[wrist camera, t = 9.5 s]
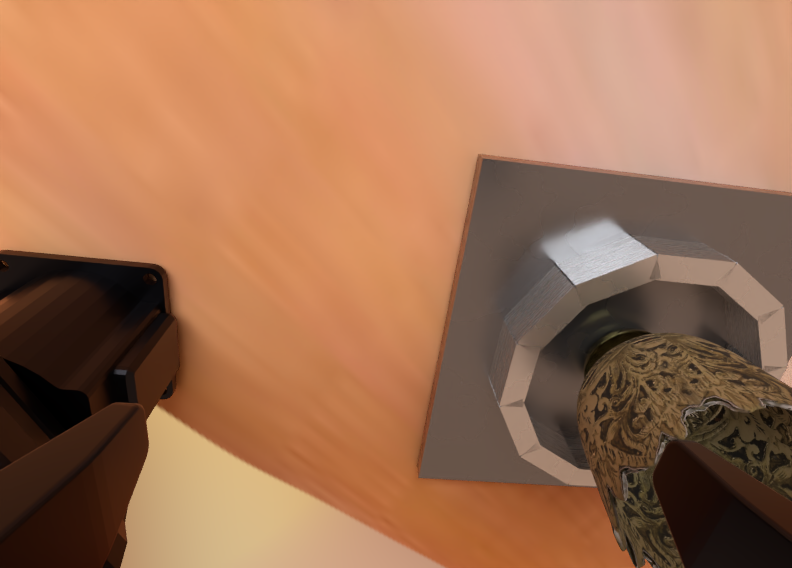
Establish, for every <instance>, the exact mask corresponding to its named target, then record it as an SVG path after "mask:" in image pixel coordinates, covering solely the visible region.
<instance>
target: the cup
mask: <svg viewBox="0 0 792 568" xmlns="http://www.w3.org/2000/svg"><path fill="white" fill-rule="evenodd" d="M583 372H584V381H583V383H582V386H581V389H580V392H579V395H578V400H577V423H578V429H579V434H580V438H581V442H582V445H583V449H584V452H585V455H586V458H587V461H588V464H589V466H590V469H591V472H592V475H593V477H594V480H595V483H596V485H597V488H598V491H599V493H600V496H601V499H602V501H603V504H604V506H605V509H606V511H607V514H608V517H609V519H610V522H611V525H612V528H613V533H614V536H615V538H616V540H617V542H618V545H619V547H620V549H621V550H622V551H625V550H626V548H627V550H628V553H629V555H630V557H631V560H632V562H633V564H634V565H635V567H636V568H640V567H642V566H644V565H645V560H644V559H646V560H647V561H648V562H649V563H650V564H651V566H652V567H653V568H684V565H683V563H682V560H681V558H680V555H679V553H678V550H677V547H676V545H675V542H674V539H673V537H672V534H671V531H670V529H669V526H668V523H667V521H666V518H665V515H664V513H663V510H662V507H661V505H660V502H659V499H658V497H657V494H656V492H655V489H654V486H653V472H654V469H655V467H656V465H657V463H658V461H659V459H660V457H661V455H662V453H663V451H664V449H665V447H666V445H667V443H669V442H670V441H671V440H675V439H677V440H691V441H695V442H698V443H700V444H701V445H703V446H704V447H706V448H708V449H709V450H711V451H712V452H714V453H716V454H717V455H719V456H720V457H722V458H723V459H725V460H727V461H728V462H730V463H731V464H733V465H735V466H736V467H738V468H739V469H741V470H742V471H744V472H746V473H747V474H749V475H750V476H752V477H754V478H755V479H757V480H758V481H760V482H761V483H763V484H765V485H766V486H768V487H769V488H771V489H773V490H774V491H776V492H777V493H779V494H781V495H782V496H784V497H785V498H787V499H788V500H790V501H792V388H791V387H790V386H788V385H786V384H785V383H783V382H782V381H780V380H778V379H777V378H775V377H774V376H772V375H770V374H769V373H767V372H765V371H764V370H762V369H761V368H759V367H757V366H756V365H754V364H752V363H751V362H749V361H747V360H746V359H744V358H742V357H740V356H739V355H737V354H735V353H733V352H731V351H729V350H727V349H725V348H723V347H721V346H719V345H717V344H715V343H712V342H710V341H707V340H705V339H702V338H699V337H695V336H691V335H686V334H680V333H651V332H648V331H645V330H641V329H635V328H624V329H618V330H615V331H612V332H609V333H607V334H605V335H604V336H602V337H601V338H599V339H598V340H597V341H596V342H595V343H594V344H593V345H592V346H591V348H590V349H589V351H588V352H587V354H586V357H585V360H584V367H583Z"/></svg>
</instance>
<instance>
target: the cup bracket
mask: <svg viewBox="0 0 792 568" xmlns="http://www.w3.org/2000/svg"><path fill="white" fill-rule="evenodd" d="M624 328H635V329H641V330H645V331H648V332H651V333H680V334H686V335H691V336H695V337H699V338H702V339H705V340H707V341H710V342H712V343H715V344H717V345H719V346H721V347H723V348H725V349H727V350H729V351H731V352H733V353H735V354H737V355H739V356H740V357H742V358H744V359H746V360H747V361H749V362H751V363H752V364H754V365H756V366H757V367H759V368H761V369H762V370H764V371H765V372H767V373H769V374H770V375H772V376H774V377H775V378H777V379H778V380H780V379H781V377H782V376H783V374H784V372H785V371H786V369H787V367H786V366H788V364H787V363H788V361H789V360H790V358H791V356H792V193H789V192H781V191H773V190H765V189H756V188H748V187H740V186H732V185H724V184H716V183H708V182H700V181H692V180H684V179H675V178H667V177H659V176H651V175H643V174H635V173H627V172H619V171H611V170H603V169H594V168H586V167H578V166H570V165H562V164H554V163H546V162H538V161H530V160H522V159H513V158H505V157H497V156H489V155H481V154H479V155H478V160H477V165H476V170H475V175H474V180H473V185H472V190H471V195H470V200H469V205H468V211H467V216H466V221H465V226H464V231H463V236H462V241H461V246H460V251H459V256H458V261H457V266H456V271H455V276H454V282H453V287H452V292H451V297H450V302H449V307H448V312H447V317H446V322H445V327H444V332H443V337H442V342H441V347H440V352H439V358H438V363H437V368H436V373H435V378H434V383H433V388H432V393H431V398H430V403H429V408H428V413H427V418H426V423H425V428H424V434H423V439H422V444H421V449H420V454H419V459H418V464H417V468H418V477H419V478H431V479H449V480H467V481H485V482H503V483H521V484H539V485H557V486H575V487H593V488H597V485H596V483H595V480H594V477H593V475H592V472H591V469H590V466H589V464H588V461H587V458H586V455H585V452H584V449H583V445H582V442H581V438H580V434H579V429H578V423H577V400H578V395H579V392H580V389H581V386H582V383H583V381H584V372H583V367H584V360H585V357H586V354H587V352H588V351H589V349H590V348H591V346H592V345H593V344H594V343H595V342H596V341H597V340H598V339H599V338H601V337H602V336H604V335H605V334H607V333H609V332H612V331H615V330H618V329H624Z"/></svg>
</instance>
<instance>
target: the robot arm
mask: <svg viewBox="0 0 792 568" xmlns="http://www.w3.org/2000/svg"><path fill="white" fill-rule="evenodd" d="M2 260H3V261H5V262H6V263H7V264H8V266H9V267H6V266H5V265H4V264H3V262H2ZM148 273H150V274H153V275H154V276H155V277H156V279H157V281H154V280H151V279H150V278H149V277H148V275H147V274H148ZM179 367H180V360H179V347H178V335H177V323H176V318H175V317H174V316H173V314H171V313H170V307H169V295H168V283H167V275H166V272H165V271H164V269H163V268H162V267H160V266H159V265H156V264H150V263H139V262H129V261H118V260H108V259H97V258H86V257H76V256H65V255H55V254H44V253H33V252H23V251H12V250H1V251H0V568H120V566H121V563H122V559H123V556H124V552H125V549H126V545H127V537H126V529H125V519H126V513H127V507H128V504H129V501H130V499H131V496H132V494H133V491H134V488H135V486H136V483H137V481H138V478H139V475H140V473H141V470H142V468H143V465H144V462H145V459H146V457H147V453H148V446H149V440H148V433H147V425H146V420H147V418H148V417H149V415H150V414H151V412H152V410H153V409H154V407H155V406H156V404H157V402H158V401H159V399H167V398H169V397H171V396H172V394H173V393H174V391H175V389H176V376H175V373H176V372H177V370H178V368H179ZM166 388H167V389H166ZM653 486H654V489H655V492H656V494H657V497H658V499H659V502H660V505H661V507H662V510H663V513H664V515H665V518H666V521H667V523H668V526H669V529H670V531H671V534H672V537H673V539H674V542H675V545H676V547H677V550H678V553H679V555H680V558H681V560H682V563H683V565H684V568H792V501H790V500H788V499H787V498H785V497H784V496H782V495H781V494H779V493H777V492H776V491H774V490H773V489H771V488H769V487H768V486H766V485H765V484H763V483H761V482H760V481H758V480H757V479H755V478H754V477H752V476H750V475H749V474H747V473H746V472H744V471H742V470H741V469H739V468H738V467H736V466H735V465H733V464H731V463H730V462H728V461H727V460H725V459H723V458H722V457H720V456H719V455H717V454H716V453H714V452H712V451H711V450H709V449H708V448H706V447H704V446H703V445H701V444H700V443H698V442H695V441H691V440H677V439H675V440H671V441H670V442H669V443H667V445H666V447H665V449H664V451H663V453H662V455H661V457H660V459H659V461H658V463H657V465H656V467H655V469H654V472H653Z"/></svg>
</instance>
